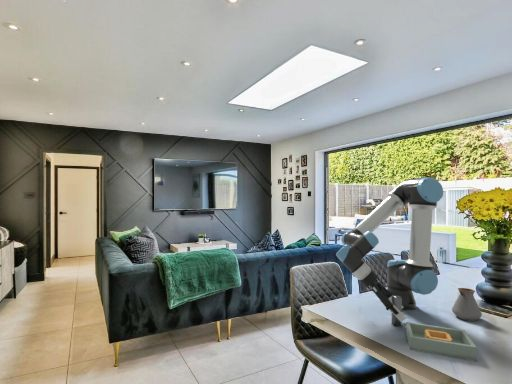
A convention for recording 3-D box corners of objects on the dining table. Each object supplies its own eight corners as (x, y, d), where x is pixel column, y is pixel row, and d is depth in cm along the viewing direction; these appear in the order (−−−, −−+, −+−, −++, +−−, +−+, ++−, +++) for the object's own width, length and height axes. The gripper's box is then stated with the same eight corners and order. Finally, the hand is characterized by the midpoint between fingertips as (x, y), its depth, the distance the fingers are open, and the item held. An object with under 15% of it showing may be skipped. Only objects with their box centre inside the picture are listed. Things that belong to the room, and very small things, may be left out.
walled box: (406, 333, 124) (406, 321, 124) (464, 342, 116) (464, 330, 117) (409, 349, 110) (409, 336, 110) (476, 361, 102) (476, 347, 103)
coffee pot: (454, 311, 150) (454, 280, 151) (483, 317, 143) (483, 285, 143) (445, 323, 134) (445, 289, 135) (477, 331, 127) (477, 294, 127)
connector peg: (391, 322, 135) (391, 294, 135) (401, 323, 133) (401, 295, 134) (391, 325, 131) (391, 297, 132) (402, 327, 130) (402, 298, 130)
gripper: (360, 274, 150) (393, 310, 144) (357, 287, 127) (397, 330, 121) (372, 264, 148) (406, 300, 142) (371, 276, 125) (412, 319, 119)
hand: (402, 314), depth 132 cm, fingers open, 13 cm apart
